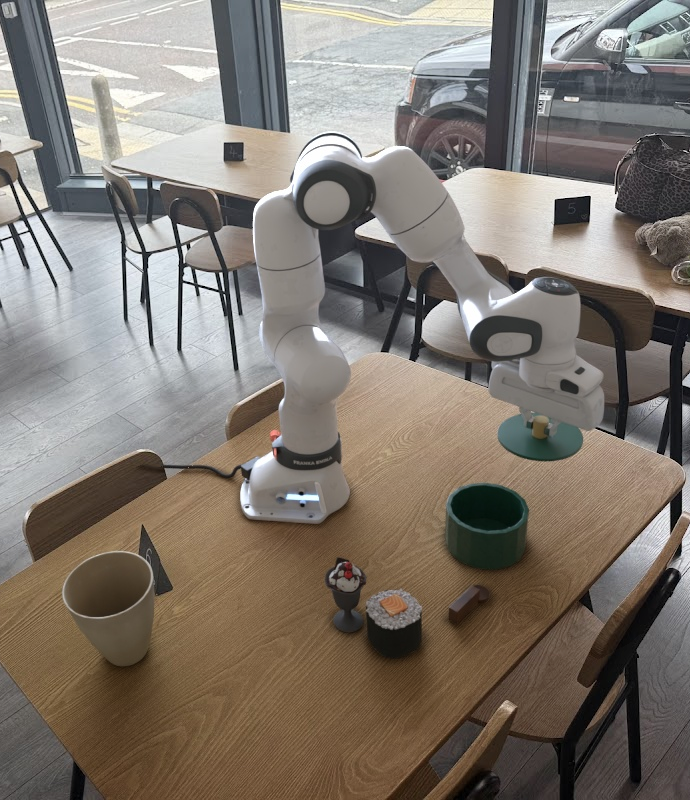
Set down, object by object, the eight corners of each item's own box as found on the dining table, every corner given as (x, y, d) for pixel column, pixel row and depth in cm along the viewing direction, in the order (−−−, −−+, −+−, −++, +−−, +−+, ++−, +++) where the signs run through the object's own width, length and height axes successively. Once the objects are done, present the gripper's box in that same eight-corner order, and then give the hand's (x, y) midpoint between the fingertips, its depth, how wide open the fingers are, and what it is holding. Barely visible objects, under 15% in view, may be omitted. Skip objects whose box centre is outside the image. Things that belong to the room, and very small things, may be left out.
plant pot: (178, 618, 139) (163, 552, 130) (156, 689, 127) (137, 622, 118) (100, 612, 143) (80, 548, 134) (71, 680, 131) (47, 614, 122)
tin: (453, 571, 139) (455, 535, 134) (439, 519, 150) (440, 485, 146) (534, 567, 137) (538, 531, 132) (513, 515, 148) (516, 480, 144)
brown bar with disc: (461, 627, 128) (462, 615, 127) (443, 617, 131) (443, 604, 129) (493, 595, 133) (494, 583, 131) (475, 585, 135) (476, 573, 134)
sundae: (359, 642, 129) (356, 576, 121) (322, 628, 132) (316, 564, 124) (374, 613, 133) (372, 548, 125) (337, 601, 137) (333, 537, 129)
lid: (508, 467, 141) (509, 446, 138) (489, 421, 153) (490, 400, 151) (594, 461, 139) (597, 439, 136) (567, 414, 151) (570, 394, 148)
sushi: (358, 631, 131) (356, 597, 127) (401, 612, 133) (401, 578, 129) (386, 666, 124) (385, 632, 120) (430, 645, 126) (431, 611, 122)
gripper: (483, 356, 143) (479, 419, 150) (594, 392, 129) (585, 459, 136) (502, 342, 146) (498, 404, 153) (613, 376, 132) (603, 442, 139)
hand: (540, 430), depth 145 cm, fingers closed on lid, 2 cm apart
